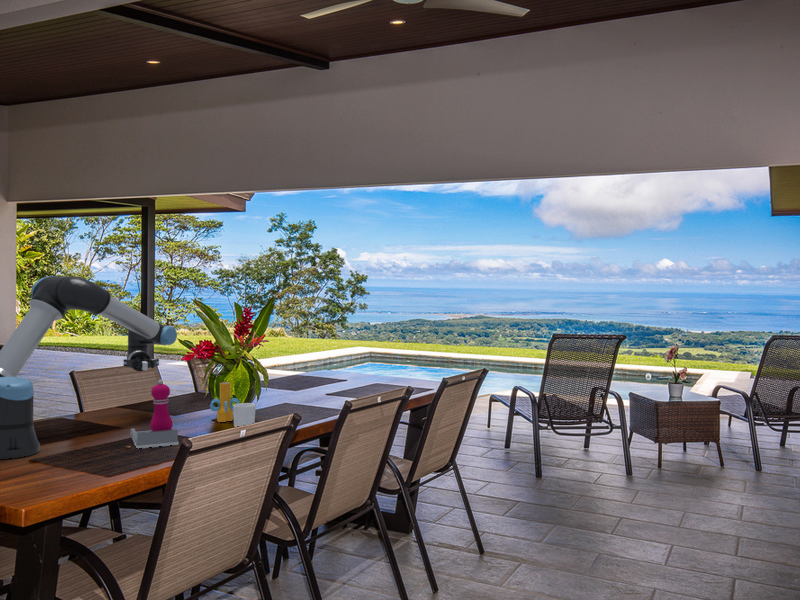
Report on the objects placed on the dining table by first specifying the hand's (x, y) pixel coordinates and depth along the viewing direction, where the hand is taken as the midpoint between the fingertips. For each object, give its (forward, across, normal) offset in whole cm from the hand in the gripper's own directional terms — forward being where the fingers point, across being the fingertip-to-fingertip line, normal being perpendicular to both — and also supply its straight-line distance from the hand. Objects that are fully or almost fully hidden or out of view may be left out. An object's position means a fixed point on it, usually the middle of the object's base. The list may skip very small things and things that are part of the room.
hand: (145, 366), depth 239 cm
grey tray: (+13, -2, -24) cm, 27 cm away
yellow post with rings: (-8, -30, -23) cm, 39 cm away
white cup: (+14, -33, -23) cm, 43 cm away
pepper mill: (+17, -4, -23) cm, 29 cm away
